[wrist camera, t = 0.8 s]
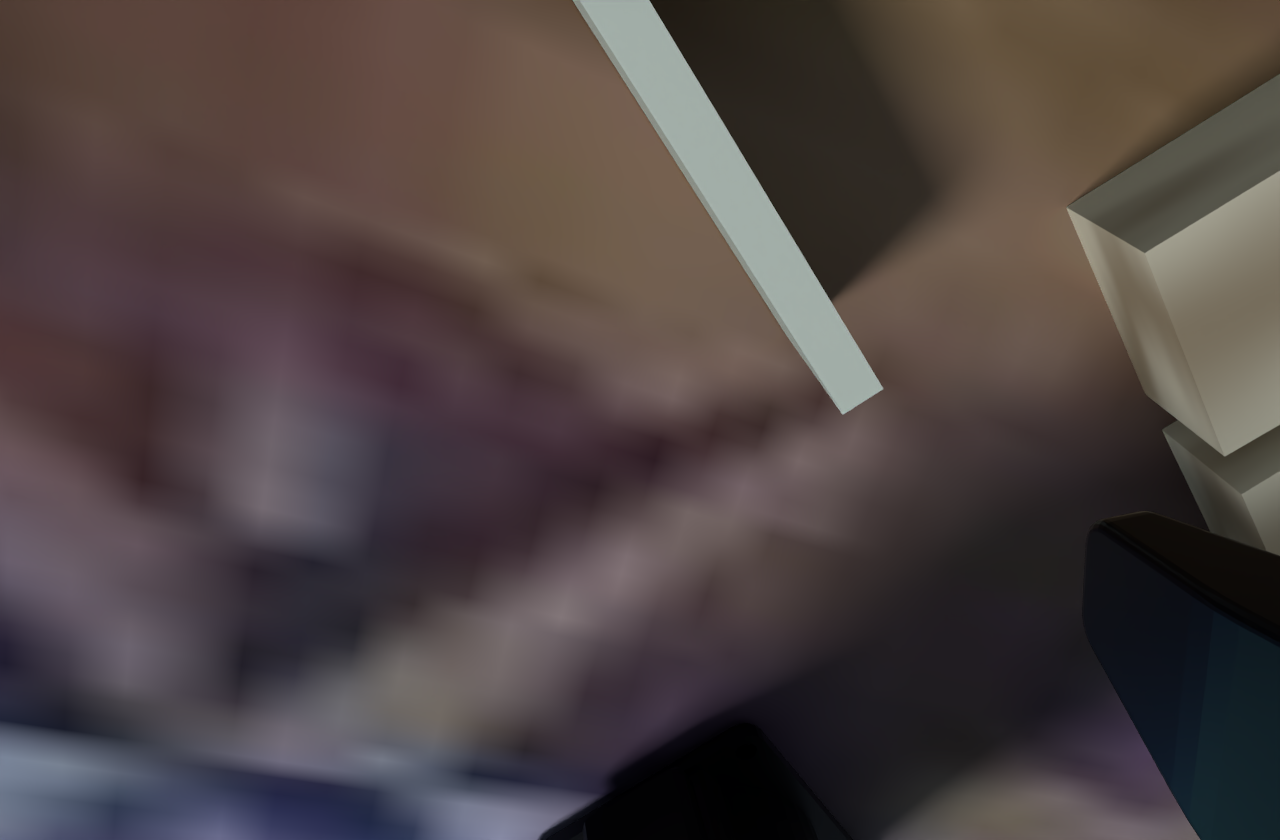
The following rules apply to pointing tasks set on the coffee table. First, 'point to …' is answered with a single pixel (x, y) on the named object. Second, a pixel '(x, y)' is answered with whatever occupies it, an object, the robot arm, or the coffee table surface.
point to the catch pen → (730, 192)
